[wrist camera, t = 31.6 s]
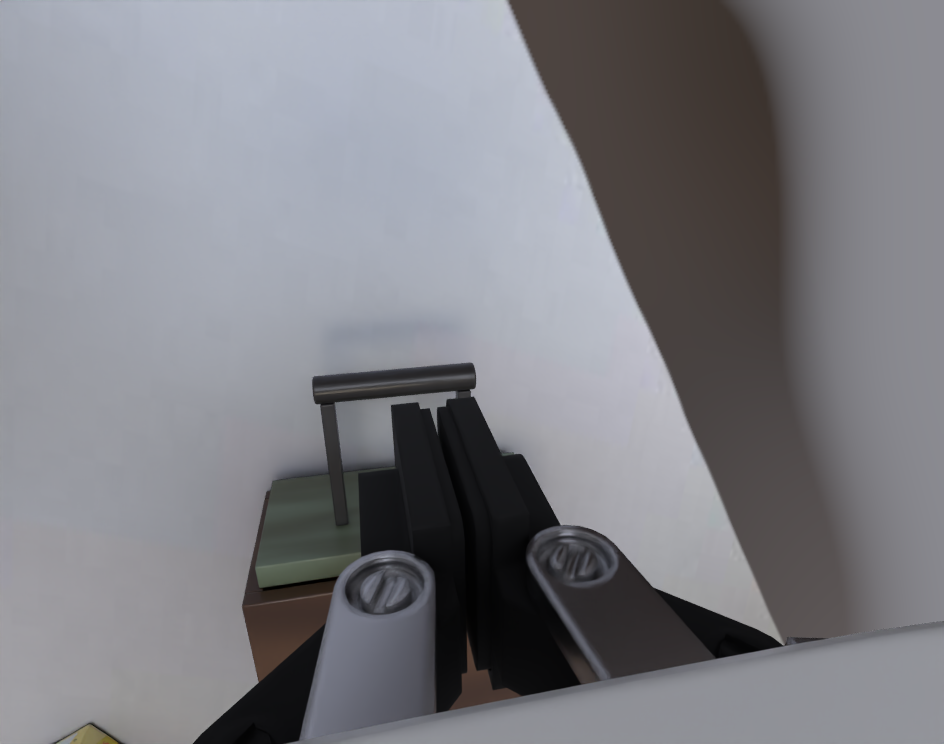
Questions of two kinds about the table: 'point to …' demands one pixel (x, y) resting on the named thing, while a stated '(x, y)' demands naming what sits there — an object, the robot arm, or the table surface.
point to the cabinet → (305, 611)
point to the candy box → (88, 737)
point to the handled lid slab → (336, 481)
